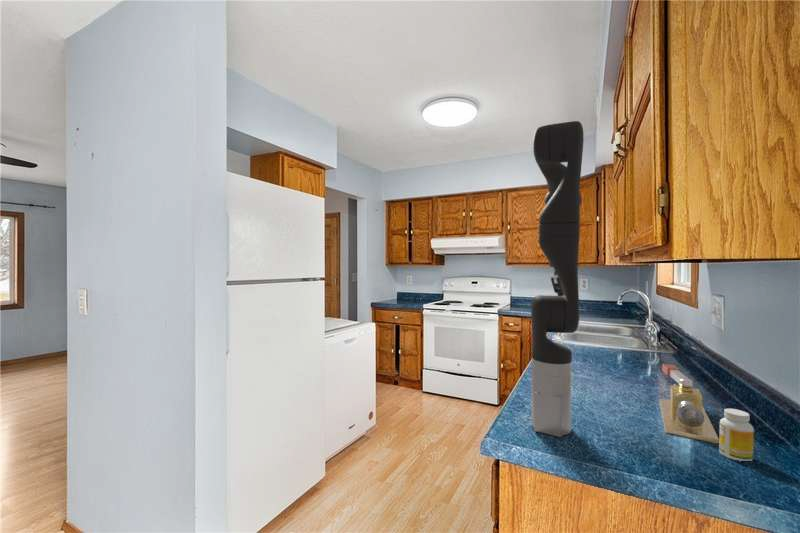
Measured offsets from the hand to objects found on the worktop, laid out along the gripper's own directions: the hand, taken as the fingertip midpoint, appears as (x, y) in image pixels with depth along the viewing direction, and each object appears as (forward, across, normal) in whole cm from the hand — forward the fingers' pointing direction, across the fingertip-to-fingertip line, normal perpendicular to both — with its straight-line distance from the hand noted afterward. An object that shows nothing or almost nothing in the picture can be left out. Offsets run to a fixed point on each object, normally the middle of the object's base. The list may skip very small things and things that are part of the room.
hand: (561, 306), depth 114 cm
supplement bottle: (+28, -12, -40) cm, 51 cm away
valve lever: (+19, +9, -28) cm, 35 cm away
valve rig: (+28, +3, -31) cm, 42 cm away
